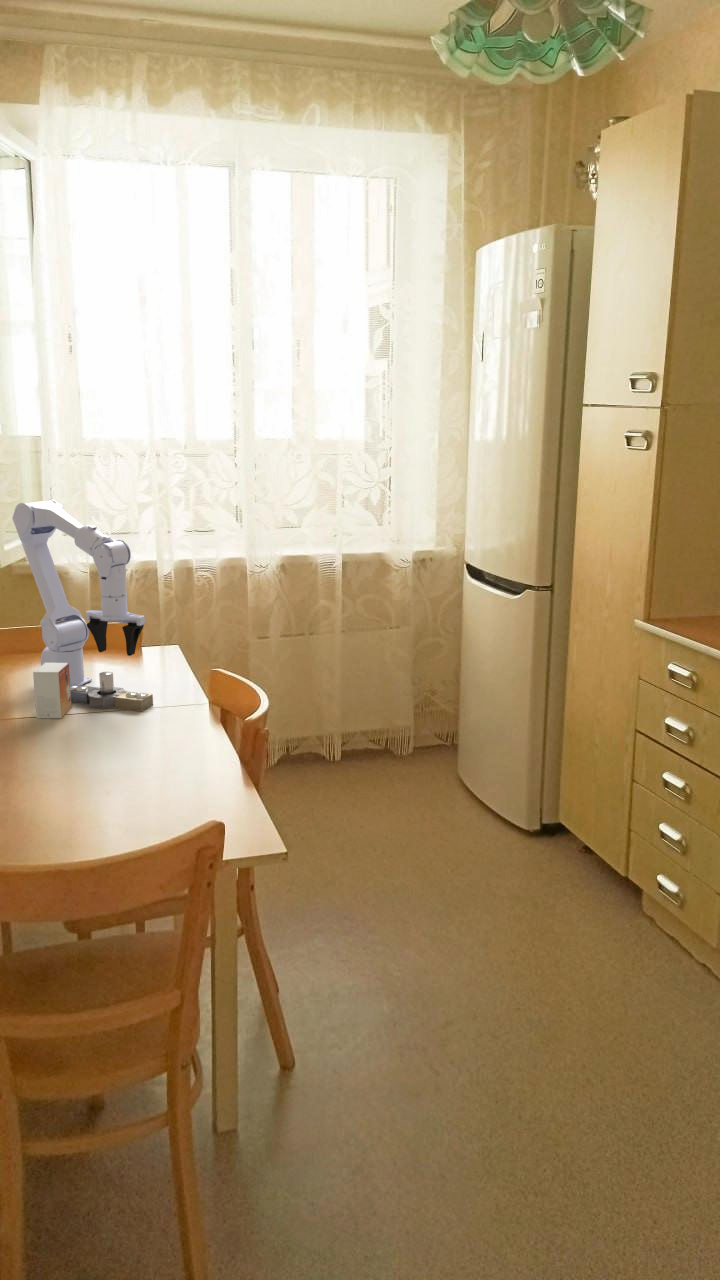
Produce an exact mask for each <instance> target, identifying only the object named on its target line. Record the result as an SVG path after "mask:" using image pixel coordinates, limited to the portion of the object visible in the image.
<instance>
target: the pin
mask: <svg viewBox="0 0 720 1280" xmlns="http://www.w3.org/2000/svg"><path fill="white" fill-rule="evenodd" d="M98 674H99V675H98V677H99V688H100V695H112V694H114V687H115V686H114V685H115V684H114V672H112V671H102V672H99V673H98Z"/></svg>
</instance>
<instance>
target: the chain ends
mask: <svg viewBox="0 0 720 1280" xmlns="http://www.w3.org/2000/svg"><path fill="white" fill-rule="evenodd" d="M70 690H71V704H79V705H86V706H89V708H90V709H98V710H109V709H118V710H126V711H135V712H139V713H140V712H141V713H142V712H143V711H146V710H147V709H148V708H151V707H152V706H154V696H153V695H154V694H153V693H147V692H139V691H129V690H125V688H123V687H117V686H114V694H112V695H100V687H98V686H97V687H96V686H89V685H88V686H87V685H70Z"/></svg>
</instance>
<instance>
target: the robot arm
mask: <svg viewBox="0 0 720 1280" xmlns="http://www.w3.org/2000/svg"><path fill="white" fill-rule="evenodd" d="M12 521H13V524H14V526H15V529H16V532H17V534H18V538H19V541H20V542H21V545H22V548H23V551H24V554H25V556H26V559H27V561H28V565H29V566H30V567H29V568H30V571H31V573H32V576H33V578H34V581H35V584H36V586H37V587H36V588H37V589H38V593H39V595H40V598H41V600H42V602H43V603H42V604H43V606H44V609H45V611H46V612H45V614H44V616H43V617H42V618H41V620H40V622H39V624H40V627H41V635H42V640H43V643H44V644H45V648H44V649H43V650H42V652H41V654H40V655H41V656H40V667H41V666H42V665H43V664H44V663H69V674H70V685H81V686H84V685H85V684H87V683H89V682H91V681H93V678H90V677H85V670H84V669H85V668H84V666H85V665H84V653H83V652H84V651H83V647H85V645H86V644H85V643H86V642H87V640H88V638H89V636H90V633H91V635H92V637H93V639H94V641H95V645H96V647H97V651H98V653H104V652H105V651H107V647H108V646H107V645H108V644H107V629H108V623H110V622H111V623H119V624H127V625H124V626H122V627H121V628H122V631H123V633H124V637H125V645H126V646H125V647H126V655H127V656H129V657H131V656H133V655H135V654H136V647H137V643H138V640H139V637H140V635H141V633H142V630H143V629H144V627H145V625H146V620H145V619H146V617H145V615H141V614H136V613H132V612H129V611H128V610H129V609H128V597H127V596H128V592H127V589H128V588H127V571H126V570H127V568H126V566H127V565H128V564H129V562H130V561H131V558H132V557H131V555H132V554H131V549H130V547H129V545H128V544H127V543H126V542H125V541H124V540H123V539H111V537H110V536H109V535H106V534H104V533H103V532H102V531H100V530H98V529H97V526H96V525H94V524H90V525H89V524H86V525H82V523H80V522H79V521H78V520H76V519H75V518H74V517H72V516H71V515H70V514H69V513H68V512H66V510H64V506H63V504H62V503H59V502H57V500H55V499H48V500H39V501H33V502H30V501H29V502H20V503H18V504H17V505H16V506H15V508H14V511H13V515H12ZM56 530H58V531H60V532H62V533H64V534H66V535H67V536H69V537H70V538H73V539H74V544H75V546H76V547H77V548H79V549H80V550H81V551H83V552H85V553H86V554H87V555H89V556H90V557H91V558H92V559H93V562H94V564H95V566H96V569H97V570H96V571H97V574H98V576H99V581H100V582H99V583H100V588H99V589H100V603H101V605H100V606H101V610H93V609H92V610H91V609H89V610H87V611H85V612H84V613H85V614H84V615H85V618H83V616H82V614H81V611H80V610H79V609H77V608H76V607H73V606H72V605H70V604H69V601H68V599H67V596H66V593H65V590H64V587H63V585H62V581H61V580H60V577H59V573H58V572H57V571H58V570H57V567H56V566H55V563H54V560H53V558H52V555H51V552H50V549H49V547H48V541H49V539H50V538H51V537H52V536H53V535H54V533H55V532H56ZM87 621H89V622H87Z"/></svg>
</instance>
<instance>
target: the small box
mask: <svg viewBox="0 0 720 1280" xmlns="http://www.w3.org/2000/svg"><path fill="white" fill-rule="evenodd" d="M32 675H33V676H32V677H33V689H34V691H33V692H34V703H35V704H34V705H35V715H36V716H35V717H36V719H62V718H63V717H64V715H66V714H67V713H68V712H69V711H70V710H71V709H72V703H71V690H70V674H69V663H44V664H43V665H42V666H41V665H40V666H39V667H38V668H37V669H35V670H34V671H33V672H32Z"/></svg>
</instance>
